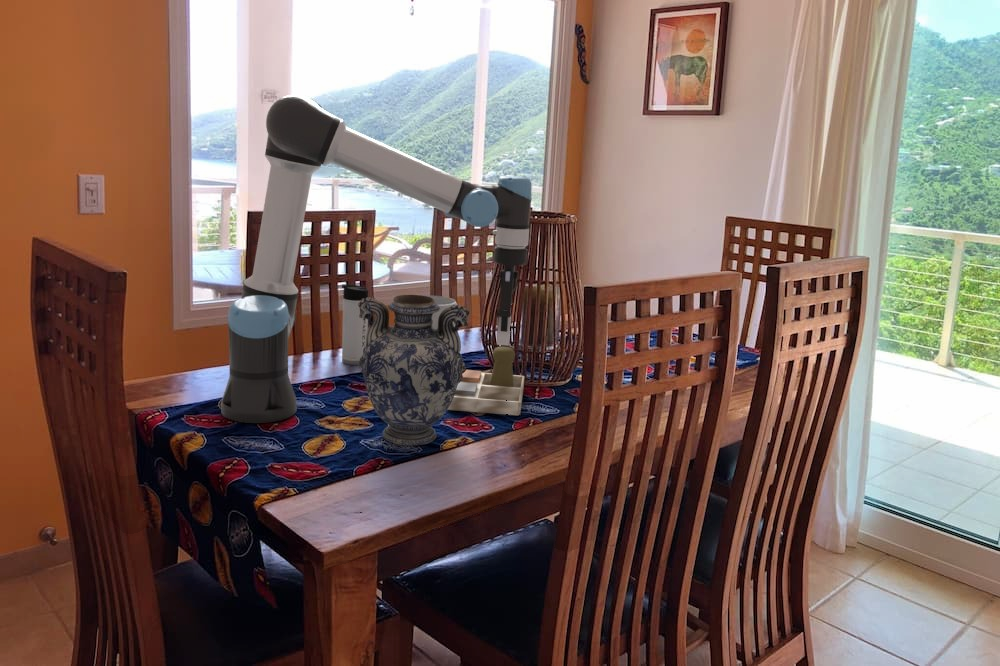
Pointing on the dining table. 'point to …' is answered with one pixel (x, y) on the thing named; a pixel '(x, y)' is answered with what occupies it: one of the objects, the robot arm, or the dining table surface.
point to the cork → (503, 367)
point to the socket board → (487, 394)
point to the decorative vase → (411, 364)
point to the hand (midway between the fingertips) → (504, 337)
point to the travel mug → (353, 324)
